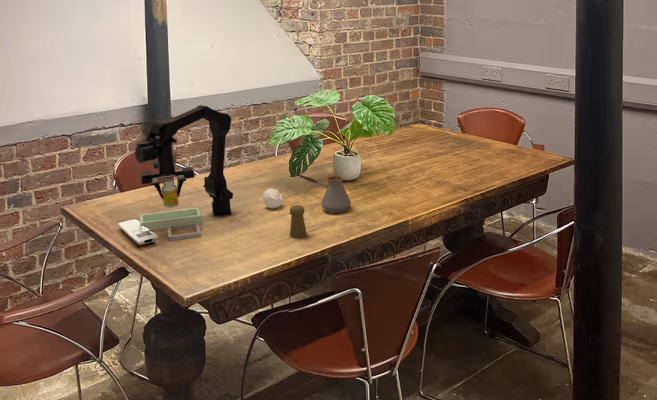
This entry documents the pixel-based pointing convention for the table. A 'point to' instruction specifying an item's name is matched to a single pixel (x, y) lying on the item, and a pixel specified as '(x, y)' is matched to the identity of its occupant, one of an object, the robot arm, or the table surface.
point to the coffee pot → (333, 194)
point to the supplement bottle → (169, 193)
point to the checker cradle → (183, 236)
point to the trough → (170, 218)
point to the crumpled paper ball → (272, 198)
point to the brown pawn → (297, 222)
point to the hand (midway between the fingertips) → (170, 197)
